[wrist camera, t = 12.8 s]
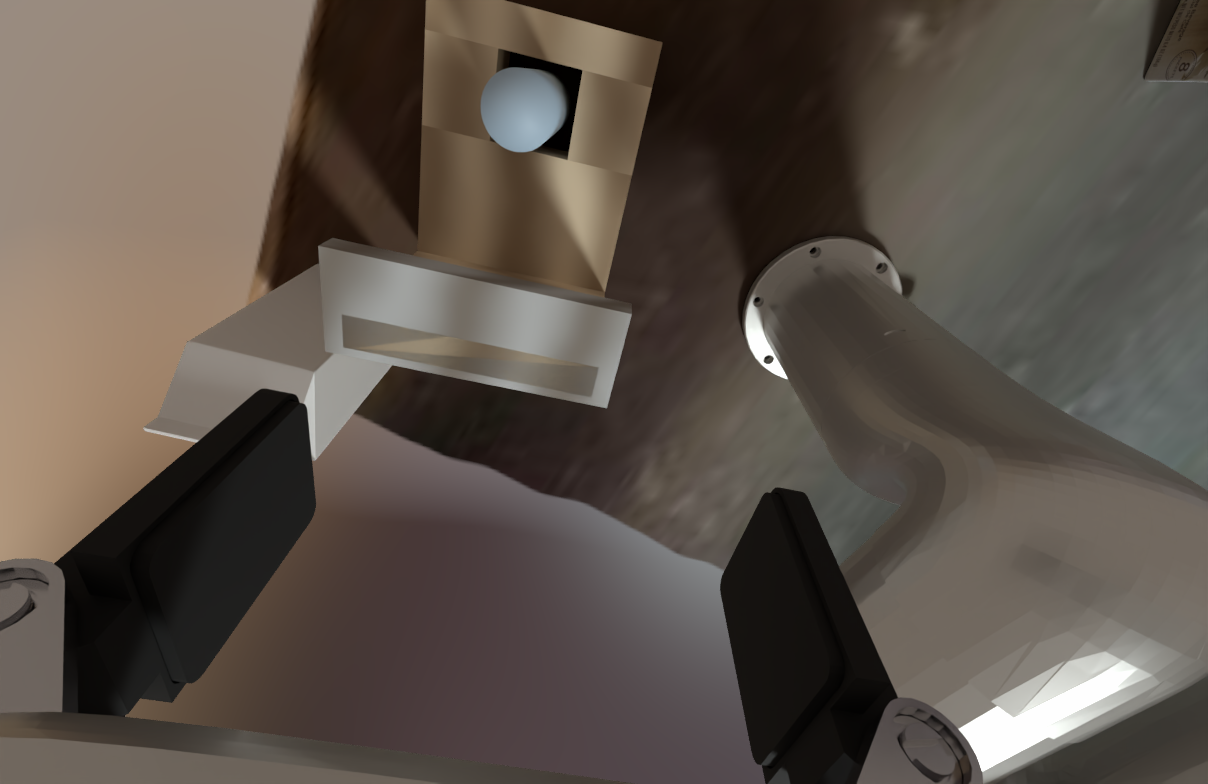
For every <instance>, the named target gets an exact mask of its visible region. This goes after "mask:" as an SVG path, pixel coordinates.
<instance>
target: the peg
mask: <svg viewBox="0 0 1208 784" xmlns="http://www.w3.org/2000/svg"><path fill="white" fill-rule="evenodd" d="M570 108H571V101H570V95H569V92H568V89H567V87H566V85H565V84H564V82H563V81H562V80H561V79H560V78H559V77H558V76H557V75H555V74H554V73H552V72H549V71H546V70H539V69H529V68H518V67H512V68H506V69H503V70H501V71H499V72H497V73H496V74H495V75H493V76H492V77H491V78H490V80H489V81H488V82H487V84H486V86H485V88H484V90H483V93H482V97H481V115H482V120H483V123H484V125H485V127H486V130H487V131H488V133H489V134H490V136H491V137H492V138H493V139H494V140H495V141H496V142H497V143H498V144H499V145H500V146H502V147H504V148H506V149H508V150H510V151H514V152H528V151H532V150H534V149H536V148H538V147H540V146H541V145H542V144H543V143H544V142H546V141H547V140H548V139H549V138H550V137H551V136H553V135H554V134H555V133H556V132H557V131H558V130H560V129H561V128H562V127H563V126H564V124H565V123H566V121H567V119H568V117H569V114H570Z"/></svg>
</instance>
